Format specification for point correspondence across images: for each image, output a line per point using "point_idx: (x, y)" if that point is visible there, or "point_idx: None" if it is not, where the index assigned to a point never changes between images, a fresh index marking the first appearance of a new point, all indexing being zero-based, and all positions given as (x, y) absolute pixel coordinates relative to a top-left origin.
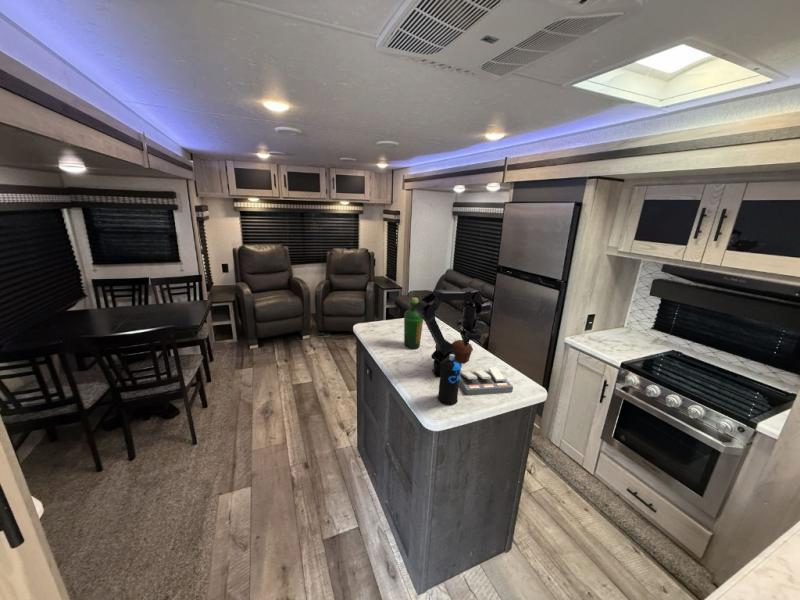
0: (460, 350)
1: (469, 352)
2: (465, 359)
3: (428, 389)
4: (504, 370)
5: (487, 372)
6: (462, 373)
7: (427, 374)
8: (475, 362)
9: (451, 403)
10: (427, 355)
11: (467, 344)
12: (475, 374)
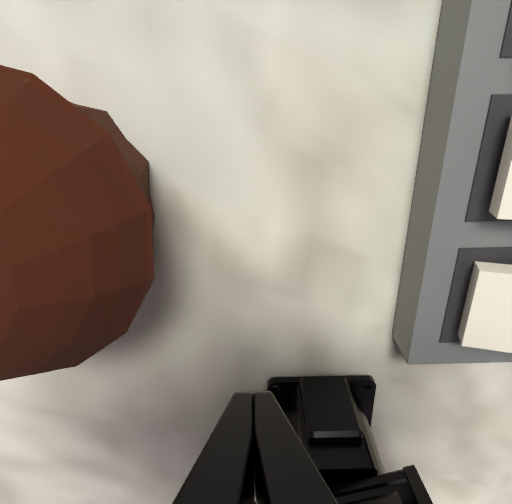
0: (121, 311)
1: (128, 171)
2: (144, 181)
3: (478, 499)
4: None
5: (509, 37)
6: (491, 347)
7: None
8: (128, 29)
9: None
10: (30, 432)
11: (285, 418)
12: None
